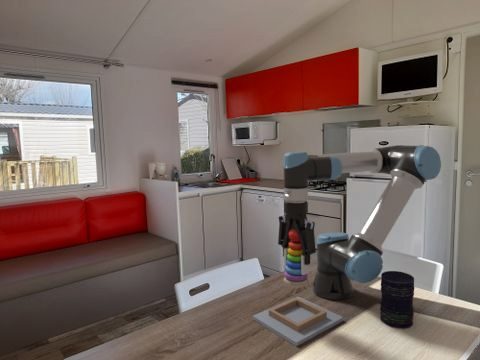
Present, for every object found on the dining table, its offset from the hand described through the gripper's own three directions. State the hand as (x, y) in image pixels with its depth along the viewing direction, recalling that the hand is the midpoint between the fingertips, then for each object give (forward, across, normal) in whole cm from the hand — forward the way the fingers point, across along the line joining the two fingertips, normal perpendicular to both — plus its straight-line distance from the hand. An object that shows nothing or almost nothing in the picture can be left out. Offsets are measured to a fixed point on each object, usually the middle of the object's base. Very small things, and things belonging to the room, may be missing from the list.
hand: (296, 270), depth 113 cm
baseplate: (+17, 0, 0) cm, 17 cm away
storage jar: (+17, +21, +24) cm, 37 cm away
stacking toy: (+5, 0, 0) cm, 5 cm away
